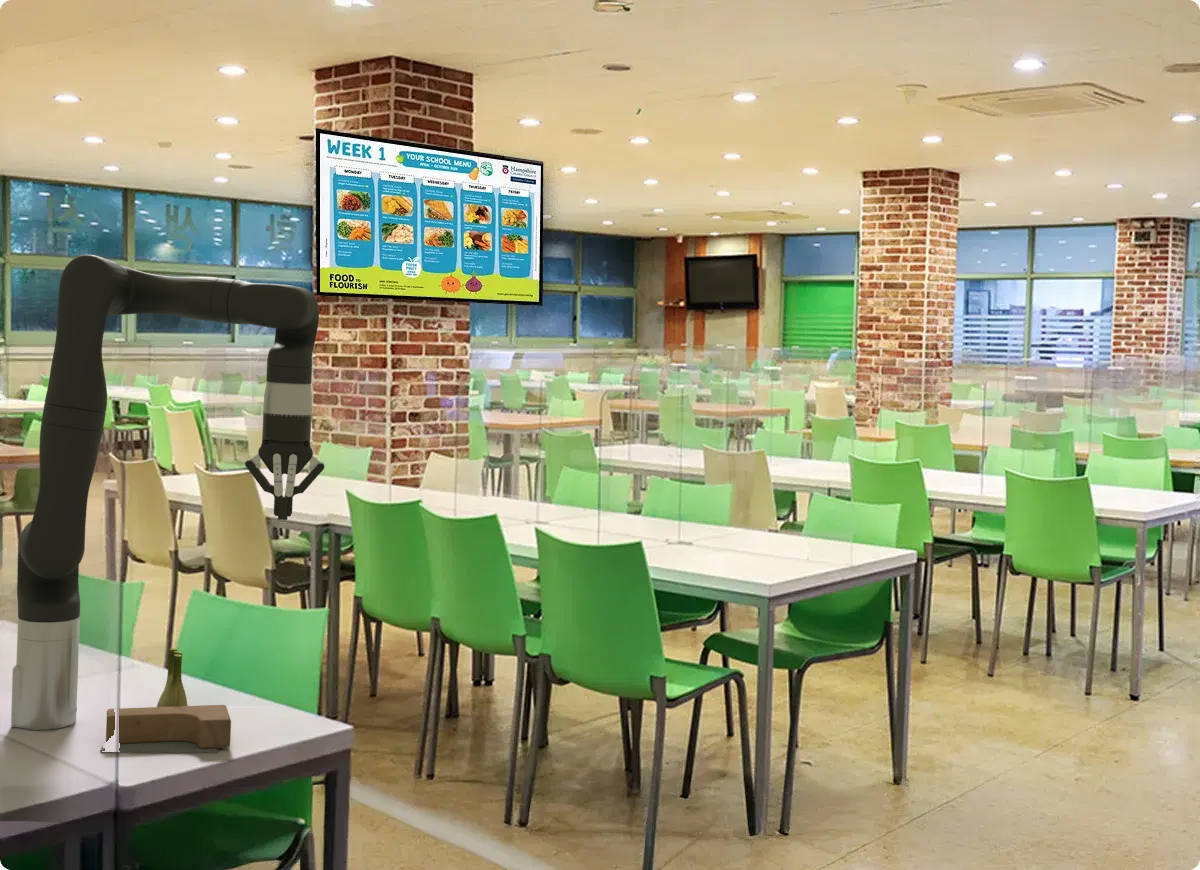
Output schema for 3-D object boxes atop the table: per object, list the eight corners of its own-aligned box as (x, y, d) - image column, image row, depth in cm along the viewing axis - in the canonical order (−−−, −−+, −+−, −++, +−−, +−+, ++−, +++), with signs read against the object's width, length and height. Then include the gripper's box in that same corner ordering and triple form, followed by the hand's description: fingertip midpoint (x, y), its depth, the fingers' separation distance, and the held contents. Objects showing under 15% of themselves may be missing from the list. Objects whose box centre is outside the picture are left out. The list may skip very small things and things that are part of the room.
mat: (100, 752, 203) (100, 750, 203) (113, 729, 215) (113, 727, 215) (216, 752, 206) (216, 750, 206) (223, 730, 218) (223, 727, 218)
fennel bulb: (181, 727, 219) (184, 654, 218) (150, 725, 219) (153, 652, 218) (191, 717, 224) (194, 646, 224) (161, 715, 224) (164, 644, 224)
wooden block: (231, 719, 207) (107, 724, 201) (230, 748, 208) (106, 753, 201) (226, 703, 216) (106, 708, 210) (225, 731, 216) (105, 736, 210)
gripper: (243, 410, 210) (238, 521, 211) (329, 414, 212) (324, 523, 213) (246, 408, 217) (241, 515, 218) (329, 412, 219) (325, 517, 220)
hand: (282, 519), depth 216 cm, fingers closed
